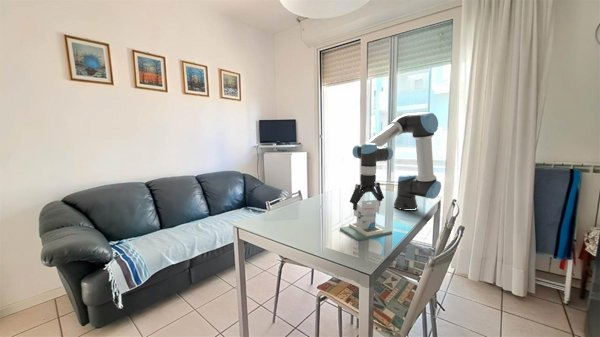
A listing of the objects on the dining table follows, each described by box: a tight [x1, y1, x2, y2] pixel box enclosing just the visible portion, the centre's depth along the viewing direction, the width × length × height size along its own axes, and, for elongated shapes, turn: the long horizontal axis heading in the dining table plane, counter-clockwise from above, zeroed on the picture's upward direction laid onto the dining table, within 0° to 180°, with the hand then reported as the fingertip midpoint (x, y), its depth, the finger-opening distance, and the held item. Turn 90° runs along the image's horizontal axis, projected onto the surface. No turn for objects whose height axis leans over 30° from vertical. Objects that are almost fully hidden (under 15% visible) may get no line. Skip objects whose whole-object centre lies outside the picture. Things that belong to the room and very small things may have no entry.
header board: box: [339, 221, 393, 242], centre depth 129 cm, size 22×15×3 cm
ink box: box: [356, 199, 377, 229], centre depth 128 cm, size 8×5×15 cm, turn 106°
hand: (366, 214), depth 128 cm, fingers open, 13 cm apart
